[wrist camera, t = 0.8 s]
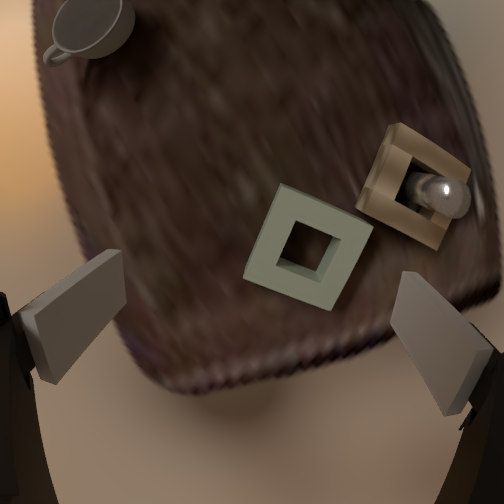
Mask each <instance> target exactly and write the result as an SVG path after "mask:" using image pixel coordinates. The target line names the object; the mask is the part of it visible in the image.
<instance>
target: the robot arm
mask: <svg viewBox="0 0 504 504" xmlns="http://www.w3.org/2000/svg"><path fill="white" fill-rule="evenodd" d="M126 303H127V302H126V293H125V284H124V273H123V261H122V250H115V249H107V250H106V251H104V252H103V253H101V254H99V255H98V256H96V257H95V258H93V259H92V260H90V261H89V262H87V263H86V264H84V265H83V266H81V267H80V268H78V269H77V270H75V271H74V272H72V273H71V274H70V275H68V276H67V277H65V278H64V279H62V280H61V281H59V282H58V283H57V284H55V285H54V286H52V287H51V288H50V289H48V290H47V291H45V292H43V293H42V294H40V295H39V296H37V297H36V299H33V300H32V301H31V302H30V303H29V304H27V305H25V306H24V307H23V308H21V309H20V310H18V311H17V312H16V313H15V314H13V315H12V316H11V314H10V310H9V306H8V302H7V298H6V294H4V293H3V292H0V504H59V503H58V500H57V497H56V494H55V490H54V487H53V484H52V480H51V477H50V473H49V469H48V465H47V461H46V457H45V452H44V448H43V443H42V438H41V433H40V427H39V421H38V415H37V409H36V401H35V393H34V384H33V378H32V376H31V373H30V371H31V370H32V369H33V368H34V367H35V366H36V369H37V372H38V374H39V377H40V379H41V380H44V381H46V382H49V383H52V384H54V385H57V384H58V382H59V381H60V380H61V378H62V377H63V376H64V375H65V374H66V372H67V371H68V370H69V369H70V367H71V366H72V365H73V364H74V363H75V362H76V360H77V359H78V358H79V357H80V356H81V354H82V353H83V352H84V351H85V350H86V348H87V347H88V346H89V345H90V344H91V343H92V341H93V340H94V339H95V338H96V337H97V336H98V334H99V333H100V332H101V331H102V330H103V329H104V328H105V326H106V325H107V324H108V323H109V322H110V321H111V320H112V318H113V317H114V316H115V315H116V314H117V313H118V312H119V311H120V309H121V308H122V307H123V306H124V305H125V304H126ZM390 324H391V326H392V327H393V329H394V331H395V332H396V334H397V335H398V337H399V339H400V340H401V342H402V344H403V345H404V347H405V348H406V350H407V352H408V353H409V355H410V357H411V358H412V360H413V362H414V364H415V365H416V367H417V369H418V370H419V372H420V374H421V376H422V377H423V379H424V381H425V383H426V384H427V386H428V388H429V390H430V391H431V393H432V395H433V397H434V399H435V400H436V402H437V404H438V406H439V408H440V410H441V411H442V413H443V415H444V416H450V415H455V414H459V413H461V412H462V410H463V408H464V407H465V405H466V403H467V401H468V400H469V402H470V403H471V405H472V409H471V411H470V412H469V414H468V415H467V417H466V418H465V420H464V422H463V424H462V425H461V426H460V428H459V430H462V428H463V427H464V429H463V433H462V436H461V439H460V442H459V445H458V448H457V450H456V453H455V456H454V459H453V462H452V464H451V467H450V469H449V472H448V474H447V477H446V479H445V481H444V484H443V486H442V488H441V491H440V493H439V495H438V497H437V499H436V501H435V503H434V504H504V352H503V353H502V354H501V353H500V352H499V351H498V350H497V349H496V348H495V347H494V346H493V345H492V344H491V343H490V341H489V340H488V339H487V338H485V336H484V335H483V334H482V333H480V331H479V330H478V329H477V328H476V327H475V326H474V325H473V324H472V323H470V322H468V321H467V320H466V319H465V318H464V317H463V316H462V315H461V314H460V313H459V312H458V311H457V310H456V309H455V308H454V307H453V306H452V305H451V304H450V303H449V302H448V301H447V300H446V299H445V298H444V297H443V296H442V295H440V294H439V293H438V292H437V291H436V290H435V289H434V288H433V287H432V286H431V285H430V284H429V283H428V282H427V281H425V280H424V279H423V278H422V277H421V276H420V275H419V274H418V273H417V272H407V271H403V272H402V276H401V281H400V285H399V289H398V294H397V298H396V302H395V305H394V309H393V313H392V317H391V320H390Z"/></svg>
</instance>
